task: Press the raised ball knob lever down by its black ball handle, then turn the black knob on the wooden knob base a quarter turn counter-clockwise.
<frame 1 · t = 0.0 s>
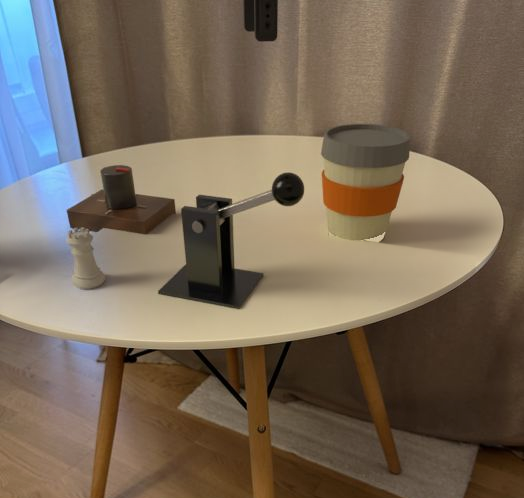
hand: (259, 35, 58), 29 cm above the table, tool pointing down, fingers open, 8 cm apart
ball knob lever: (247, 203, 63), point 12 cm above the table, hinge at 25.0°
wooden knob base: (124, 221, 90), on the table
black lever stand: (212, 290, 72), on the table
rook chess piece: (90, 289, 72), on the table
reusable coffee cup: (356, 234, 86), on the table
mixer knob: (118, 186, 87), point 6 cm above the table, hinge at 0.0°
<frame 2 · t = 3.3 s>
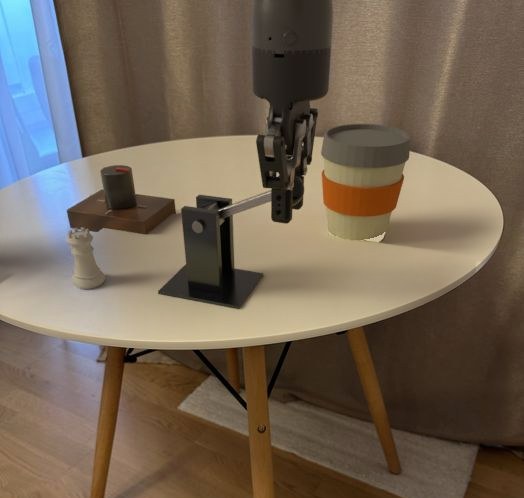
hand: (287, 213, 62), 12 cm above the table, tool pointing down, fingers closed on ball knob lever, 3 cm apart
ball knob lever: (247, 203, 63), point 12 cm above the table, hinge at 25.0°, touching gripper
everything else where it was.
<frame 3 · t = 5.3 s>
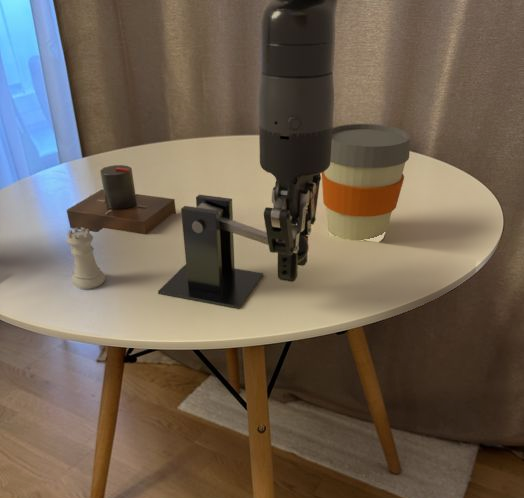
hand: (292, 271, 66), 5 cm above the table, tool pointing down, fingers closed on ball knob lever, 3 cm apart
ball knob lever: (251, 233, 65), point 9 cm above the table, hinge at -11.4°, touching gripper
everything else where it was.
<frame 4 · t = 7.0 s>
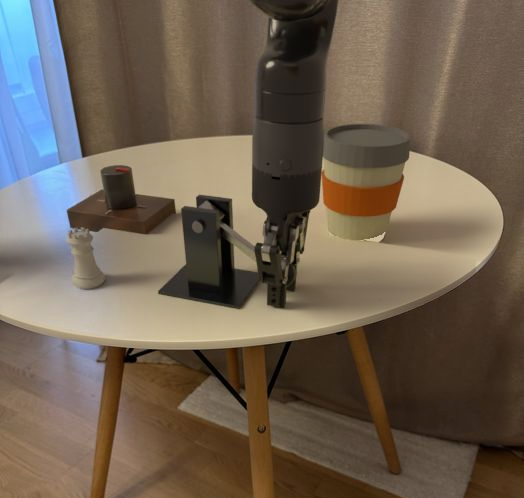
hand: (281, 298, 69), 1 cm above the table, tool pointing down, fingers closed on ball knob lever, 3 cm apart
ball knob lever: (245, 246, 66), point 7 cm above the table, hinge at -32.0°, touching gripper
everything else where it was.
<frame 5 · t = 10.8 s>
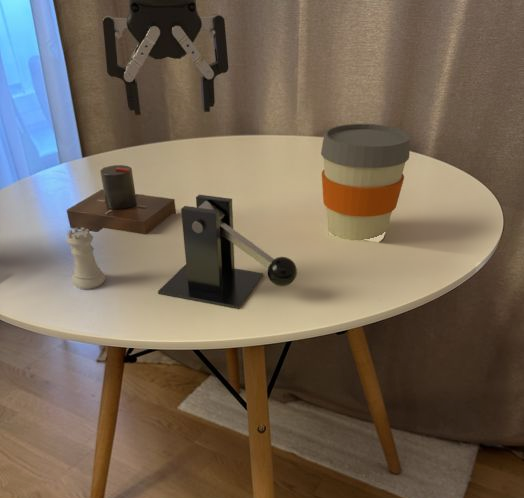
hand: (172, 112, 69), 20 cm above the table, tool pointing down, fingers open, 8 cm apart
ball knob lever: (246, 246, 66), point 7 cm above the table, hinge at -30.4°
everything else where it was.
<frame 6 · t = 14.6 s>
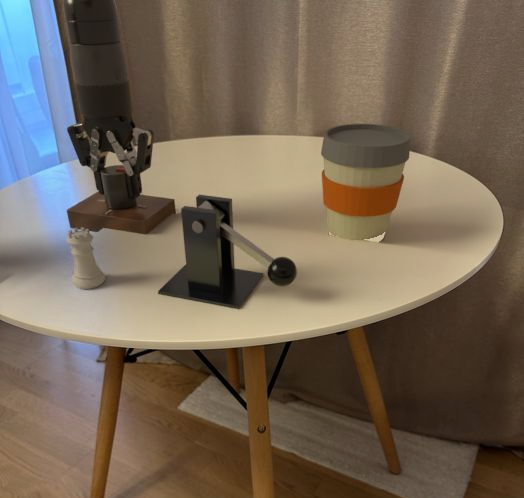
hand: (119, 194, 87), 5 cm above the table, tool pointing down, fingers closed on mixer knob, 5 cm apart
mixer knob: (118, 186, 87), point 6 cm above the table, hinge at 0.0°, touching gripper
everything else where it was.
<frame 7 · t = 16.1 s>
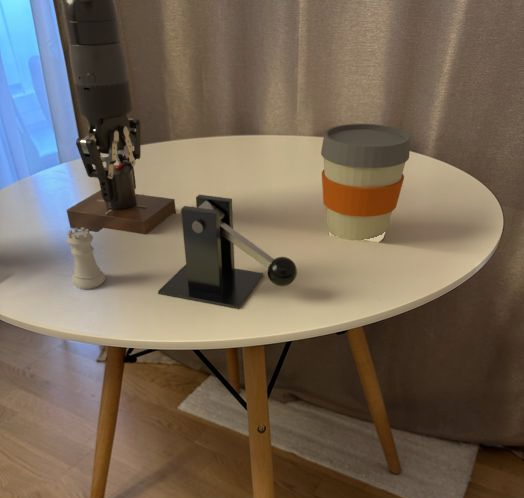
hand: (120, 195, 87), 5 cm above the table, tool pointing down, fingers closed on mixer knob, 5 cm apart
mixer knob: (118, 186, 87), point 6 cm above the table, hinge at 93.3°, touching gripper
everything else where it was.
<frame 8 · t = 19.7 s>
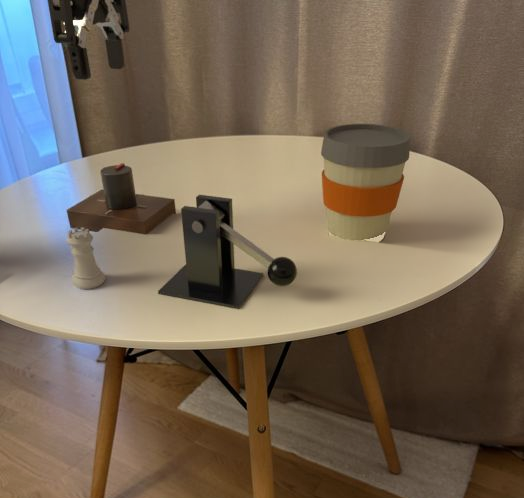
hand: (100, 73, 77), 22 cm above the table, tool pointing down, fingers open, 8 cm apart
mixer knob: (118, 186, 87), point 6 cm above the table, hinge at 93.3°
everything else where it was.
at the end: ball knob lever at -30° (first picture: +25°); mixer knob at +93° (first picture: +0°) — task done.
